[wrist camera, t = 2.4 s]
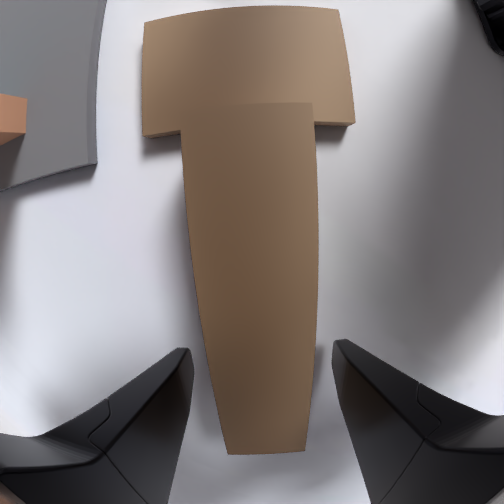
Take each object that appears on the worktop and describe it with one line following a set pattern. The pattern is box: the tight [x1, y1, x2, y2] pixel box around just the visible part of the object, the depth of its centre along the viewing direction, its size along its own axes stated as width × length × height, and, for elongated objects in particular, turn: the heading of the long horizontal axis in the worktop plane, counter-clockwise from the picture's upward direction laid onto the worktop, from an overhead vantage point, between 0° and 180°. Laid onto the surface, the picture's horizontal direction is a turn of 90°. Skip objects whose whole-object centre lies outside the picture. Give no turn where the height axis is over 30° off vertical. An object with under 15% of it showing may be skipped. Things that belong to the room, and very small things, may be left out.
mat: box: [0, 0, 107, 192], centre depth 6 cm, size 12×14×1 cm
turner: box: [142, 6, 355, 455], centre depth 7 cm, size 6×14×3 cm, turn 3°
